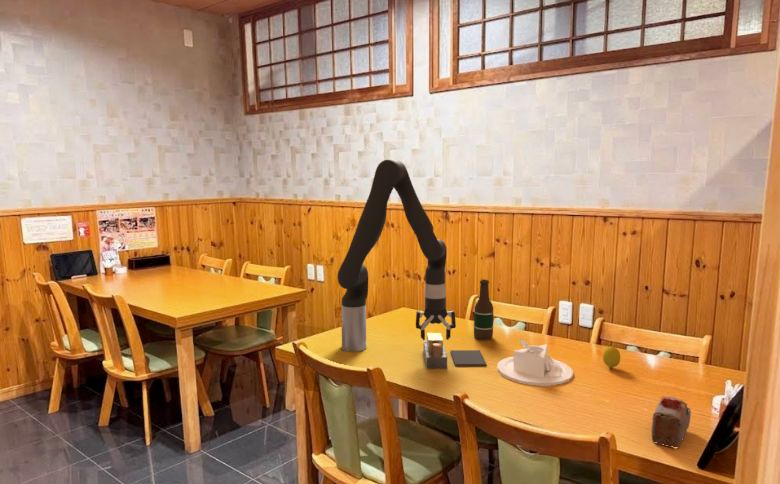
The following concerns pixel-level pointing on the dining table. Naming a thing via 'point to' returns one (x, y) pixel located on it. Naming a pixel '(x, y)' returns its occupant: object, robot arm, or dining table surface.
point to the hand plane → (435, 357)
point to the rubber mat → (467, 358)
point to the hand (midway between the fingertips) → (435, 339)
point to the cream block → (434, 340)
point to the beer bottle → (483, 314)
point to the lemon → (611, 357)
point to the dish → (534, 367)
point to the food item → (670, 421)
